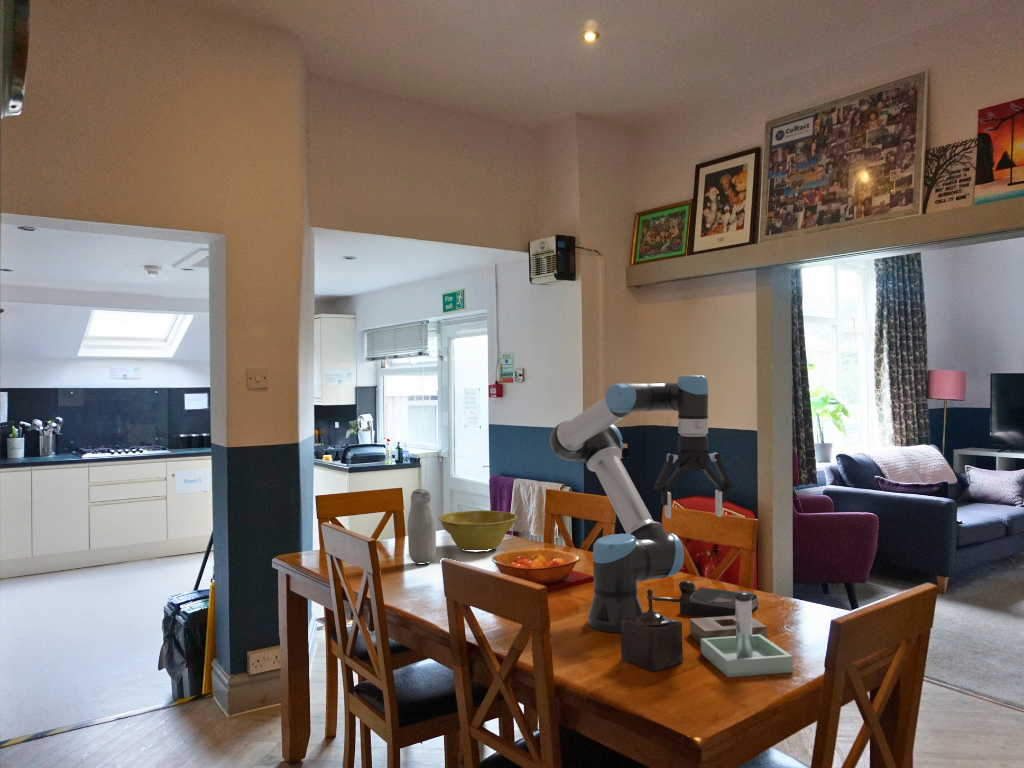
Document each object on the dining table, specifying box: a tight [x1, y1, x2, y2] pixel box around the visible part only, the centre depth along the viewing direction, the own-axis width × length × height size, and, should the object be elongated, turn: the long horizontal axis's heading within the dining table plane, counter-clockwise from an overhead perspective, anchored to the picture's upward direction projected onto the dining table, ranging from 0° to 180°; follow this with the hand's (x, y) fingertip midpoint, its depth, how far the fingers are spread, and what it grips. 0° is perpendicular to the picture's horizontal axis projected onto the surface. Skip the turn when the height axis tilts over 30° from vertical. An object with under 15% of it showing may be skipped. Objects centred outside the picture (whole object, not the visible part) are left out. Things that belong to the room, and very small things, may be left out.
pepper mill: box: [620, 580, 697, 673], centre depth 170 cm, size 16×11×18 cm
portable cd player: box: [679, 586, 760, 618], centre depth 207 cm, size 16×17×4 cm
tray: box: [700, 634, 794, 678], centre depth 167 cm, size 15×15×4 cm
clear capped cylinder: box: [733, 590, 753, 659], centre depth 167 cm, size 4×4×15 cm
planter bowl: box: [438, 510, 518, 550], centre depth 297 cm, size 32×32×13 cm
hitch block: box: [688, 616, 768, 644], centre depth 183 cm, size 16×10×4 cm, turn 98°
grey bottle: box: [407, 488, 437, 564], centre depth 273 cm, size 10×10×28 cm
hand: (693, 516), depth 188 cm, fingers open, 13 cm apart
